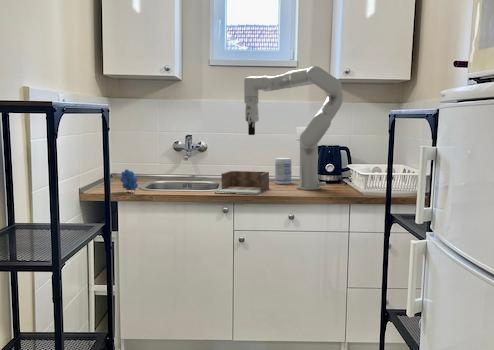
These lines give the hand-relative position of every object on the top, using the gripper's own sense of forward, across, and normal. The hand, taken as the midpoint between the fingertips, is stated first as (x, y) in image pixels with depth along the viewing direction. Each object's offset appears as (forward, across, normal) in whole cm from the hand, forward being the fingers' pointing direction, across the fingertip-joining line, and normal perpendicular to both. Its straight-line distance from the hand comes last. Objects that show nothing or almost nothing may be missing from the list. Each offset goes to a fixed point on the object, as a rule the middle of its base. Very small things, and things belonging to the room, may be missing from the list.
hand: (251, 134), depth 253 cm
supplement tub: (+29, +24, -12) cm, 40 cm away
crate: (+29, -6, +2) cm, 30 cm away
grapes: (+29, -31, +58) cm, 72 cm away
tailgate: (+29, -14, +2) cm, 32 cm away
